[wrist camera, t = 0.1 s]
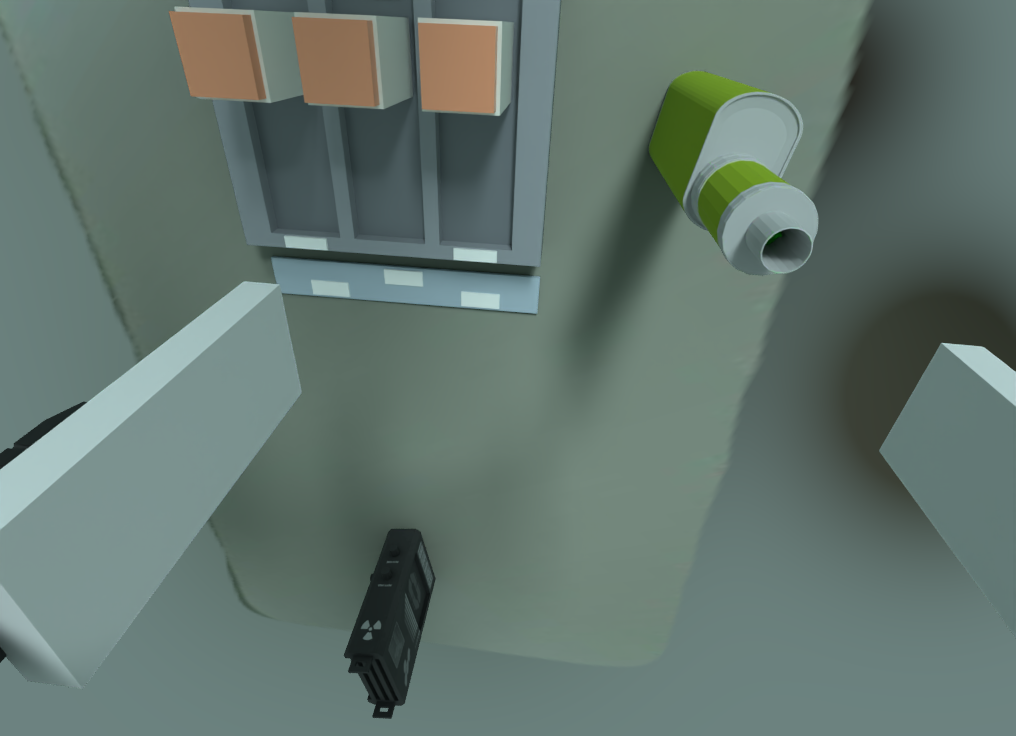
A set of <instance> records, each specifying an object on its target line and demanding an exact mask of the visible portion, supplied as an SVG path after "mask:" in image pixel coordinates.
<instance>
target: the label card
mask: <svg viewBox="0 0 1016 736" xmlns="http://www.w3.org/2000/svg"><path fill="white" fill-rule="evenodd" d="M271 260H272V265H273V269H274V274H275V279H276V283H277V284H280V288H281V293H287V294H300V295H312V296H324V297H337V298H349V299H362V300H374V301H387V302H399V303H411V304H424V305H436V306H449V307H461V308H474V309H486V310H498V311H511V312H523V313H536V314H537V310H538V297H539V284H540V276H527V275H514V274H501V273H488V272H474V271H461V270H448V269H435V268H422V267H409V266H395V265H382V264H369V263H356V262H343V261H330V260H316V259H303V258H290V257H277V256H272V257H271Z"/></svg>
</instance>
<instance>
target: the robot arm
mask: <svg viewBox="0 0 1016 736" xmlns="http://www.w3.org/2000/svg"><path fill="white" fill-rule="evenodd" d="M301 393H302V391H301V386H300V381H299V376H298V371H297V366H296V362H295V357H294V352H293V347H292V342H291V337H290V332H289V327H288V323H287V318H286V313H285V308H284V303H283V298H282V293H281V288H280V284H268V283H257V282H246V281H244V282H242V283H241V284H240V285H239V286H237V287H236V288H235V289H233V290H232V291H231V292H229V293H228V294H227V295H226V296H224V297H223V298H222V299H220V300H219V301H218V302H217V303H215V304H214V305H213V306H211V307H210V308H209V309H207V310H206V311H205V312H204V313H202V314H201V315H200V316H198V317H197V318H196V319H195V320H193V321H192V322H191V323H189V324H188V325H187V326H185V327H184V328H183V329H182V330H180V331H179V332H178V333H176V334H175V335H174V336H173V337H171V338H170V339H169V340H167V341H166V342H165V343H163V344H162V345H161V346H160V347H158V348H157V349H156V350H154V351H153V352H152V353H151V354H149V355H148V356H147V357H145V358H144V359H143V360H141V361H140V362H139V363H138V364H136V365H135V366H134V367H132V368H131V369H130V370H129V371H127V372H126V373H125V374H123V375H122V376H121V377H120V378H118V379H117V380H116V381H114V382H113V383H112V384H110V385H109V386H108V387H107V388H105V389H104V390H103V391H101V392H100V393H99V394H98V395H96V396H95V397H94V398H92V399H91V400H90V401H88V402H82V403H80V404H78V405H76V406H73V407H71V408H69V409H67V410H65V411H63V412H61V413H59V414H57V415H55V416H53V417H51V418H49V419H46V420H45V421H43V422H42V423H41V424H39V425H38V426H37V427H35V428H34V429H33V430H31V431H30V432H28V434H26V435H24V436H23V437H22V438H20V439H19V440H18V441H17V442H15V443H14V447H13V448H12V449H9V448H7V449H6V450H4V451H3V452H2V453H0V662H1V661H2V660H3V659H4V658H5V657H7V659H8V660H9V661H10V662H11V663H12V664H13V665H14V666H15V668H16V669H17V670H18V671H19V672H20V673H21V674H22V676H23V677H24V678H25V679H26V680H27V681H31V682H38V683H45V684H53V685H60V686H67V687H74V688H84V686H85V685H86V684H87V682H88V681H89V680H90V678H91V677H92V676H93V674H94V673H95V671H96V670H97V669H98V668H99V666H100V665H101V663H102V662H103V661H104V659H105V658H106V656H107V655H108V654H109V653H110V651H111V650H112V649H113V647H114V646H115V644H116V643H117V642H118V640H119V639H120V638H121V636H122V635H123V634H124V632H125V631H126V630H127V628H128V627H129V625H130V624H131V623H132V621H133V620H134V619H135V617H136V616H137V615H138V613H139V612H140V611H141V609H142V608H143V607H144V605H145V604H146V603H147V601H148V600H149V599H150V597H151V596H152V595H153V593H154V592H155V590H156V589H157V588H158V586H159V585H160V584H161V582H162V581H163V580H164V578H165V577H166V576H167V574H168V573H169V572H170V570H171V569H172V567H173V566H174V565H175V563H176V562H177V560H178V559H179V558H180V557H181V555H182V554H183V553H184V551H185V550H186V548H187V547H188V546H189V544H190V543H191V542H192V540H193V539H194V538H195V536H196V535H197V534H198V532H199V531H200V530H201V528H202V527H203V525H204V524H205V523H206V522H207V520H208V519H209V517H210V516H211V515H212V513H213V512H214V511H215V509H216V508H217V507H218V505H219V504H220V503H221V501H222V500H223V499H224V497H225V496H226V495H227V493H228V492H229V490H230V489H231V488H232V486H233V485H234V484H235V482H236V481H237V480H238V478H239V477H240V476H241V474H242V473H243V472H244V470H245V469H246V467H247V466H248V465H249V463H250V462H251V461H252V459H253V458H254V457H255V455H256V454H257V453H258V451H259V450H260V449H261V447H262V446H263V444H264V443H265V442H266V440H267V439H268V438H269V436H270V435H271V434H272V432H273V431H274V430H275V428H276V427H277V426H278V424H279V423H280V422H281V420H282V419H283V417H284V416H285V415H286V413H287V412H288V411H289V409H290V408H291V407H292V405H293V404H294V403H295V401H296V400H297V399H298V397H299V396H300V394H301ZM880 453H881V454H882V455H883V457H884V458H885V460H886V461H887V462H888V464H889V465H890V466H891V468H892V469H893V470H894V472H895V473H896V475H897V476H898V477H899V479H900V480H901V481H902V483H903V484H904V486H905V487H906V488H907V490H908V491H909V492H910V494H911V495H912V497H913V498H914V499H915V501H916V502H917V503H918V505H919V506H920V508H921V509H922V510H923V512H924V513H925V514H926V516H927V517H928V519H929V520H930V521H931V523H932V524H933V525H934V527H935V528H936V530H937V531H938V532H939V534H940V535H941V536H942V538H943V539H944V541H945V542H946V543H947V545H948V546H949V547H950V549H951V550H952V552H953V553H954V554H955V556H956V557H957V558H958V560H959V561H960V563H961V564H962V565H963V567H964V568H965V569H966V571H967V572H968V573H969V575H970V576H971V578H972V579H973V580H974V582H975V583H976V584H977V586H978V587H979V589H980V590H981V591H982V593H983V594H984V596H985V597H986V598H987V600H988V601H989V602H990V604H991V605H992V606H993V608H994V609H995V610H996V612H997V613H998V615H999V616H1000V617H1001V619H1002V620H1003V621H1004V623H1005V624H1006V626H1007V627H1008V628H1009V630H1010V631H1011V633H1012V634H1013V635H1014V637H1015V638H1016V372H1015V371H1014V370H1012V369H1011V368H1010V367H1008V366H1007V365H1006V364H1005V363H1003V362H1002V361H1001V360H1000V359H998V358H997V357H996V356H994V355H993V354H992V353H990V352H989V351H988V350H987V349H985V348H984V347H979V346H968V345H957V344H946V343H941V345H940V346H939V348H938V350H937V351H936V353H935V355H934V357H933V358H932V360H931V362H930V364H929V365H928V367H927V369H926V371H925V372H924V374H923V376H922V377H921V379H920V381H919V383H918V385H917V386H916V388H915V390H914V391H913V393H912V395H911V396H910V398H909V400H908V402H907V403H906V405H905V407H904V409H903V410H902V412H901V414H900V415H899V417H898V419H897V421H896V422H895V424H894V426H893V428H892V429H891V431H890V433H889V435H888V436H887V438H886V440H885V441H884V443H883V445H882V447H881V448H880Z"/></svg>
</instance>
